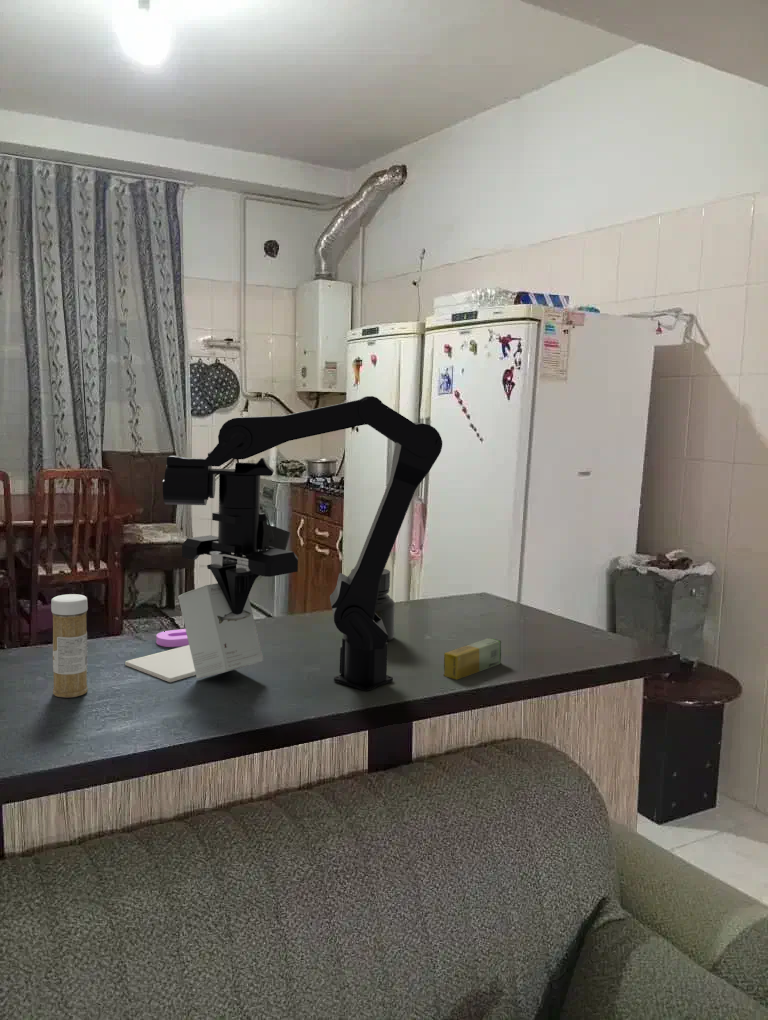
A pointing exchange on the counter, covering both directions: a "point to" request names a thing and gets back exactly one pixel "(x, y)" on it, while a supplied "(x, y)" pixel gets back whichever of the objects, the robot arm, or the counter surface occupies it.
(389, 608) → the ink bottle
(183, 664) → the mat
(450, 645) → the counter surface
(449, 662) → the medication box
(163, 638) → the bracket
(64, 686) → the sprinkles bottle
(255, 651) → the supplement box
